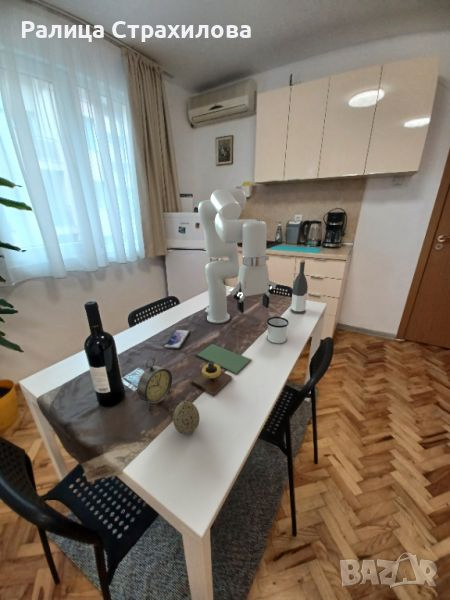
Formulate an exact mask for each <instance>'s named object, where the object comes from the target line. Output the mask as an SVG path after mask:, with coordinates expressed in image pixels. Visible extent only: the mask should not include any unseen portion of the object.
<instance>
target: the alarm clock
mask: <svg viewBox="0 0 450 600" xmlns="http://www.w3.org/2000/svg"><path fill="white" fill-rule="evenodd" d="M150 360H153V363H152V365H149V366H148V362H149V361H150ZM155 362H156V359H155V357H150V358H148V359H147V360H146V363H145V367H146V368H147V369H146V370H144V372H143V373H142V374H141V376H140V378H139V380H138V382H137V387H136V388H137V389H136V391H137V395H138V397H139V399H140V400H142V401H144V402H146V403H148V404H149V405H152V406H153V405H157V404H159V403H161V402H162V401H163V400H164V399H165V398H166V397H167V395H168V394H169V393H171V389H172V385H173V375H172V373H171V372H172V371H170V370H169V369H168V368H166V367H162V366H160V365H155ZM152 406H151V407H149V406H148V411H151V410H152V409H151V408H152Z"/></svg>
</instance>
